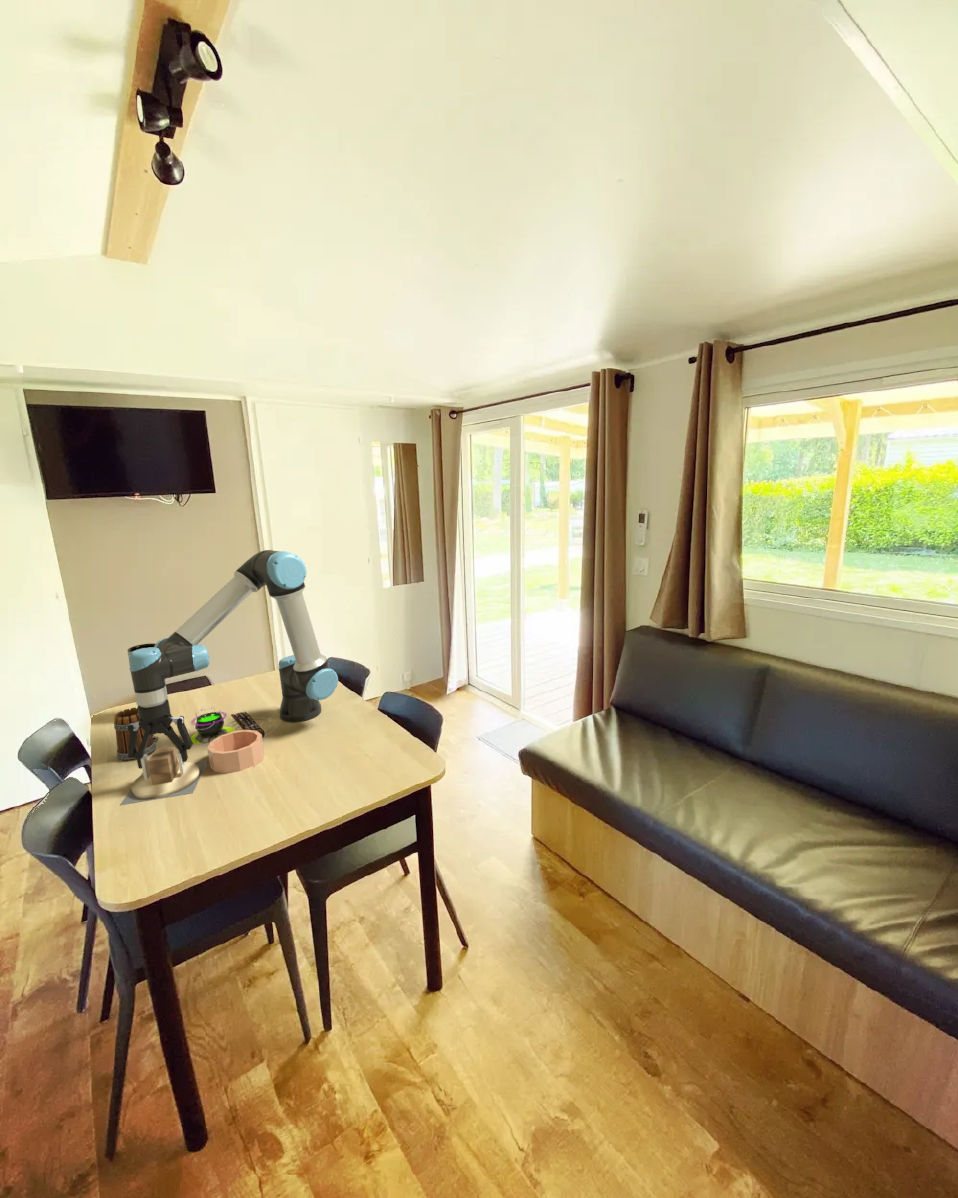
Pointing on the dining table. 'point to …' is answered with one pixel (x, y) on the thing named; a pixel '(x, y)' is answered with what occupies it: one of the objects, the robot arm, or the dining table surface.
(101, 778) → the dining table surface
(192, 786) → the mat
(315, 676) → the robot arm
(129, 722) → the mug
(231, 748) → the bowl
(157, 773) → the lid
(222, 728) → the toy cauldron
